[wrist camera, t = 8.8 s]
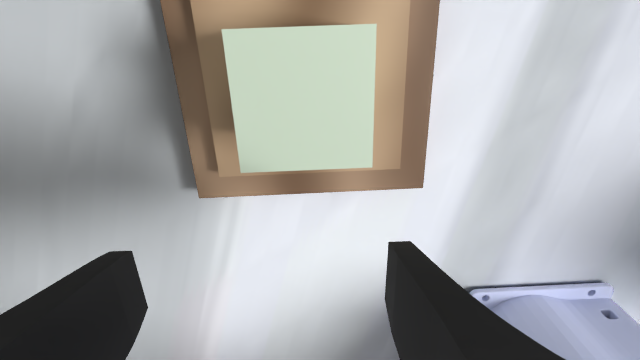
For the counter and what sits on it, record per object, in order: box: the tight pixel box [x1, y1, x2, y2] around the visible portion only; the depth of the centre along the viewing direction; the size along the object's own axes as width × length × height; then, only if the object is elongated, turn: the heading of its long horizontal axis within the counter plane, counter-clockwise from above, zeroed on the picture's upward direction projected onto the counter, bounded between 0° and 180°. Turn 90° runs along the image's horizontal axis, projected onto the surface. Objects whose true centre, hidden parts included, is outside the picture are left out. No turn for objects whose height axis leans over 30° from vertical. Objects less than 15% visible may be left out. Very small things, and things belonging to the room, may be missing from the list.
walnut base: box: [160, 0, 440, 198], centre depth 17 cm, size 12×12×2 cm
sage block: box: [222, 24, 377, 173], centre depth 13 cm, size 4×4×5 cm
